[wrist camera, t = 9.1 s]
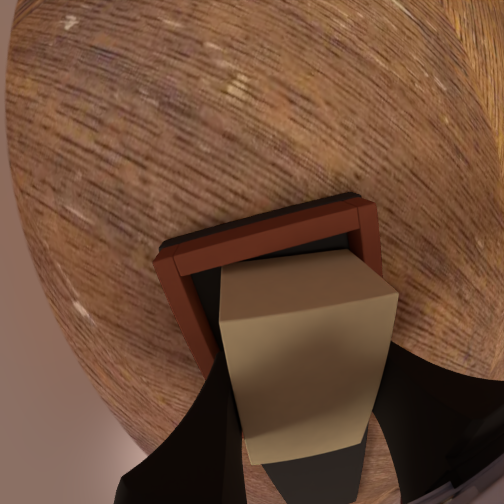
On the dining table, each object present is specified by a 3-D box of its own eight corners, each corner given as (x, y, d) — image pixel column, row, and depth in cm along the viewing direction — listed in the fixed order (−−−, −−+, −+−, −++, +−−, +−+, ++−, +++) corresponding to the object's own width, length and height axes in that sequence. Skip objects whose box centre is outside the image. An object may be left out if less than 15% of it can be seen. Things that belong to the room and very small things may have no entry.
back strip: (295, 512, 25) (298, 525, 22) (162, 241, 11) (147, 261, 9) (354, 496, 25) (358, 509, 22) (351, 191, 11) (380, 200, 9)
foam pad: (244, 403, 13) (251, 465, 9) (221, 263, 11) (218, 322, 7) (336, 387, 13) (360, 443, 10) (347, 248, 11) (400, 292, 7)
